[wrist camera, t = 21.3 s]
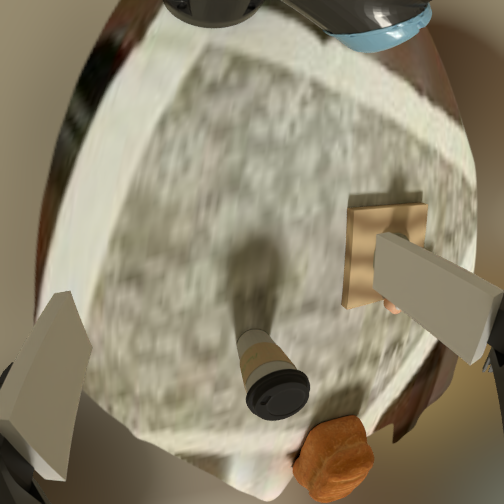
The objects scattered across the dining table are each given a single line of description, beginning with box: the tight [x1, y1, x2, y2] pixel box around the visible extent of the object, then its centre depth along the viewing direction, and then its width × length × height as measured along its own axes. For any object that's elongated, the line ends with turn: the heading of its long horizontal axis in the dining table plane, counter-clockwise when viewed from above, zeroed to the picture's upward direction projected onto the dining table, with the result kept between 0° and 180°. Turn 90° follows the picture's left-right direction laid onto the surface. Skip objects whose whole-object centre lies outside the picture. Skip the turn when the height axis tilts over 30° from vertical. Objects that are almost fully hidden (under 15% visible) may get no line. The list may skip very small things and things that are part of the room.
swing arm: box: [384, 298, 402, 314], centre depth 52 cm, size 16×4×3 cm, turn 94°
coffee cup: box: [237, 329, 310, 421], centre depth 44 cm, size 9×9×15 cm
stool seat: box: [341, 202, 428, 310], centre depth 51 cm, size 18×18×4 cm
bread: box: [293, 415, 374, 503], centre depth 63 cm, size 16×26×17 cm, turn 172°
